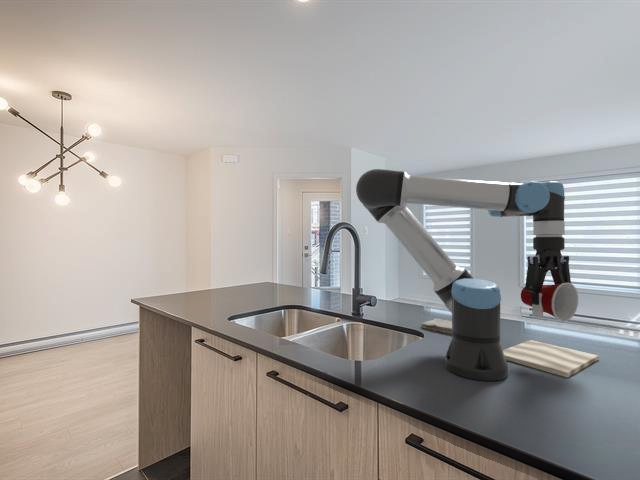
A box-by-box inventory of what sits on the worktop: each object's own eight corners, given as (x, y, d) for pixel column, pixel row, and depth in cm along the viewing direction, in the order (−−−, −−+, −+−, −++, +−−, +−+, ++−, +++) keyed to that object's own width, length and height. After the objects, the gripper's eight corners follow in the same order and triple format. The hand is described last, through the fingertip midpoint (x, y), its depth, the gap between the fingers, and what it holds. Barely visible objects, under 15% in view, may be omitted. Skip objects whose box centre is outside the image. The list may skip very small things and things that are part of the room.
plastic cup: (532, 319, 103) (572, 329, 92) (509, 302, 100) (547, 310, 89) (545, 288, 105) (586, 294, 94) (523, 271, 102) (562, 275, 91)
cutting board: (567, 377, 83) (567, 372, 83) (495, 356, 98) (495, 352, 98) (598, 359, 96) (598, 355, 96) (530, 343, 111) (530, 340, 111)
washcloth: (434, 323, 139) (434, 316, 139) (478, 332, 126) (478, 324, 126) (419, 329, 131) (419, 321, 131) (465, 339, 118) (465, 330, 118)
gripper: (561, 236, 104) (561, 309, 104) (509, 236, 97) (510, 314, 97) (587, 236, 96) (587, 314, 96) (533, 236, 90) (533, 320, 90)
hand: (548, 314), depth 97 cm, fingers closed on plastic cup, 8 cm apart
